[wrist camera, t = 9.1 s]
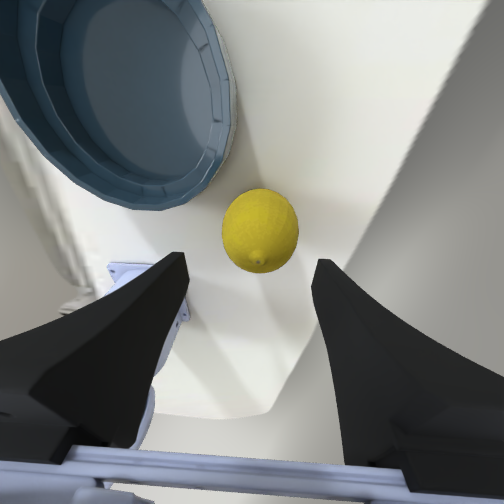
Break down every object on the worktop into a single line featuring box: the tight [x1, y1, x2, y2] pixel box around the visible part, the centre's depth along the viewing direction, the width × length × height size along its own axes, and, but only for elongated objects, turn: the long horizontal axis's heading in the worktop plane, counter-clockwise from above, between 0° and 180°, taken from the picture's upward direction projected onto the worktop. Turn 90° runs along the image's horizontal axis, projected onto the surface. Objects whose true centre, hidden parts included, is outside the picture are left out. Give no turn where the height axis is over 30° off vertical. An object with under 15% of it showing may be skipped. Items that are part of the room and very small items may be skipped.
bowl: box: [0, 0, 237, 211], centre depth 13 cm, size 13×13×4 cm
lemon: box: [222, 189, 299, 273], centre depth 15 cm, size 6×6×8 cm
